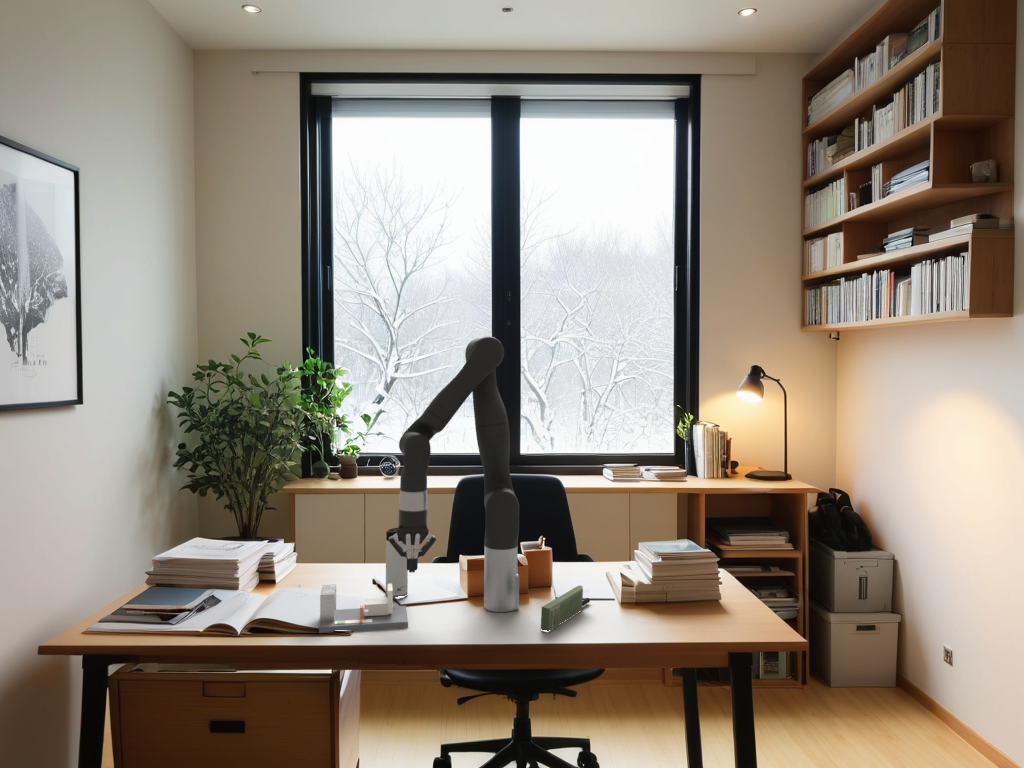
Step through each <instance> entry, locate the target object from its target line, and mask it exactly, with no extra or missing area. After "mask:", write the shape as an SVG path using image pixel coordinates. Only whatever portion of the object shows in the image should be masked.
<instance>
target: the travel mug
mask: <svg viewBox="0 0 1024 768" xmlns="http://www.w3.org/2000/svg"><path fill="white" fill-rule="evenodd" d="M397 529H398V527H393V528H389V529H388V530H386V535H385V536H386V537H385V597H388V584H392V588H393V600H396V599H395V597H398V596H405V595H407V594H408V593H409V592H408V591H409V590H408V585H409V584H408V583H409V582H408V581H409V579H408V578H409V577H408V576H409V575H408V574H409V573H408V572H409V570H407V558H406V557H401V556H400V555H399V553H398V552H397V551H396V549H395V548H394V547H393V546H392V544H391V543H390V542H389V537H390V536H393V535H394V534H396V533H397V532H396V531H397ZM398 544H399V545H400V546H401V547H402V549H403V550H404V551H406V545H405V544H403V542H402V541H401V539H400V538H399V537H398ZM408 595H409V594H408ZM408 595H407V596H408Z"/></svg>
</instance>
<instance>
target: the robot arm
mask: <svg viewBox="0 0 1024 768" xmlns="http://www.w3.org/2000/svg"><path fill="white" fill-rule="evenodd" d="M464 352H465V353H464V355H465V356H464V357H465V364H464V365H463V366H462V368H461V369H460V370H459V372H458V373H457V374H455V377H453V378H452V380H450V382H449V383H448V384H446V385H445V387H443V388H442V389H441V390H440V391H439V392H438V393H437V394H436V395H435V397H434V398H433V399H432V401H431V402H430V403H429V404H428V406H427V407H426V408H425V409H424V411H423V412H422V414H421V415H420V416H419V417H418V418H417V419H416V420H415V421H414V422H413V423H412V424H411V425H410V426H409V427H408V428H407V429H405V431H404V433H402V435H401V437H400V439H399V443H398V447H399V451H400V452H401V453H402V455H404V461H403V462H404V463H403V469H402V470H401V473H400V484H399V488H400V489H399V498H398V527H397V528H398V529H397V531H396V532H397V533H396V534H394V535H393V536H390V537H389V542H390V543H391V544H392V546H393V547H394V548H395V549H396V551H397V552H398V553H399V555H400V556H401V557H406V558H407V570H408V572H409V573H415V572H416V571H417V570H418V561H419V560H418V559H419V558H420V557H424V556H425V555H426V554H427V552H428V551H429V550H430V549H431V547H433V545H434V544H435V542H436V541H437V538H436V535H433V534H431V532H430V530H429V527H428V505H429V503H428V502H429V501H428V500H429V499H428V470H429V463H430V459H431V452H432V450H431V443H430V441H431V440H432V438H433V437H434V436H435V435H436V434H438V433H441V432H442V431H443V430H444V429H445V428H446V426H447V425H448V424H449V423H450V421H451V420H452V419H453V418H454V416H455V415H456V413H457V412H458V410H459V409H460V408H461V407H462V405H463V404H464V403H465V401H466V400H467V399H468V398H469V396H470V395H471V394H472V405H473V415H474V426H475V434H476V441H477V448H478V452H479V456H480V461H481V465H482V470H483V477H484V478H483V480H484V481H483V482H484V483H483V484H484V497H483V498H484V500H483V502H484V503H483V505H484V510H485V525H484V526H485V527H484V528H485V532H484V552H483V553H484V559H483V560H484V566H483V568H484V571H483V572H484V573H483V579H484V580H483V581H484V582H483V586H484V587H483V608H484V609H485V610H486V611H489V612H493V613H508V612H512V611H515V610H520V605H519V604H520V598H519V597H520V575H519V573H518V549H519V548H518V547H519V546H518V543H519V535H520V503H519V499H518V498H517V496H516V493H515V490H514V487H513V483H512V478H511V473H510V455H511V454H510V453H511V439H510V438H511V437H510V434H511V433H510V427H509V420H508V413H507V410H506V407H505V405H504V402H503V400H502V397H501V394H500V392H499V388H498V385H497V384H498V383H497V371H496V368H497V367H498V366H500V365H501V363H502V362H503V359H504V356H505V349H504V346H503V344H502V342H501V341H500V340H499V339H497V338H496V337H493V336H481V337H476V338H473V339H472V340H471V341H470V342H469V343H468V344H467V346H466V349H465V351H464ZM398 537H399V538H400V539H401V541H402V542H403V544H405V545H406V551H404V550H403V549H402V547H401V546H400V545H399V544H398ZM425 539H426V542H425V544H423V546H422V547H421V548H420V545H421V544H422V543H424V541H425ZM412 546H413V547H412ZM419 549H420V550H419ZM409 573H408V574H409Z"/></svg>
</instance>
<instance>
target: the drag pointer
mask: <svg viewBox="0 0 1024 768" xmlns="http://www.w3.org/2000/svg"><path fill="white" fill-rule="evenodd" d="M359 608H360V623H362V622H363V608H364V605H360V606H359Z"/></svg>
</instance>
